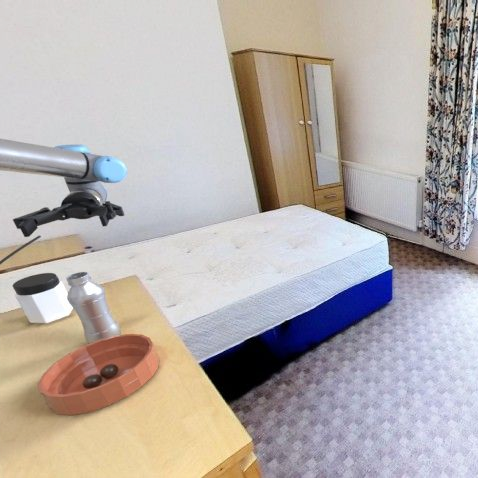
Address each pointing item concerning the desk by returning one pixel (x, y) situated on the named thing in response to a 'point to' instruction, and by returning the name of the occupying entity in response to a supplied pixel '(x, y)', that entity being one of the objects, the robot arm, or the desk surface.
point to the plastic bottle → (91, 307)
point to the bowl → (91, 362)
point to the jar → (42, 298)
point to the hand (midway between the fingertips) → (65, 226)
